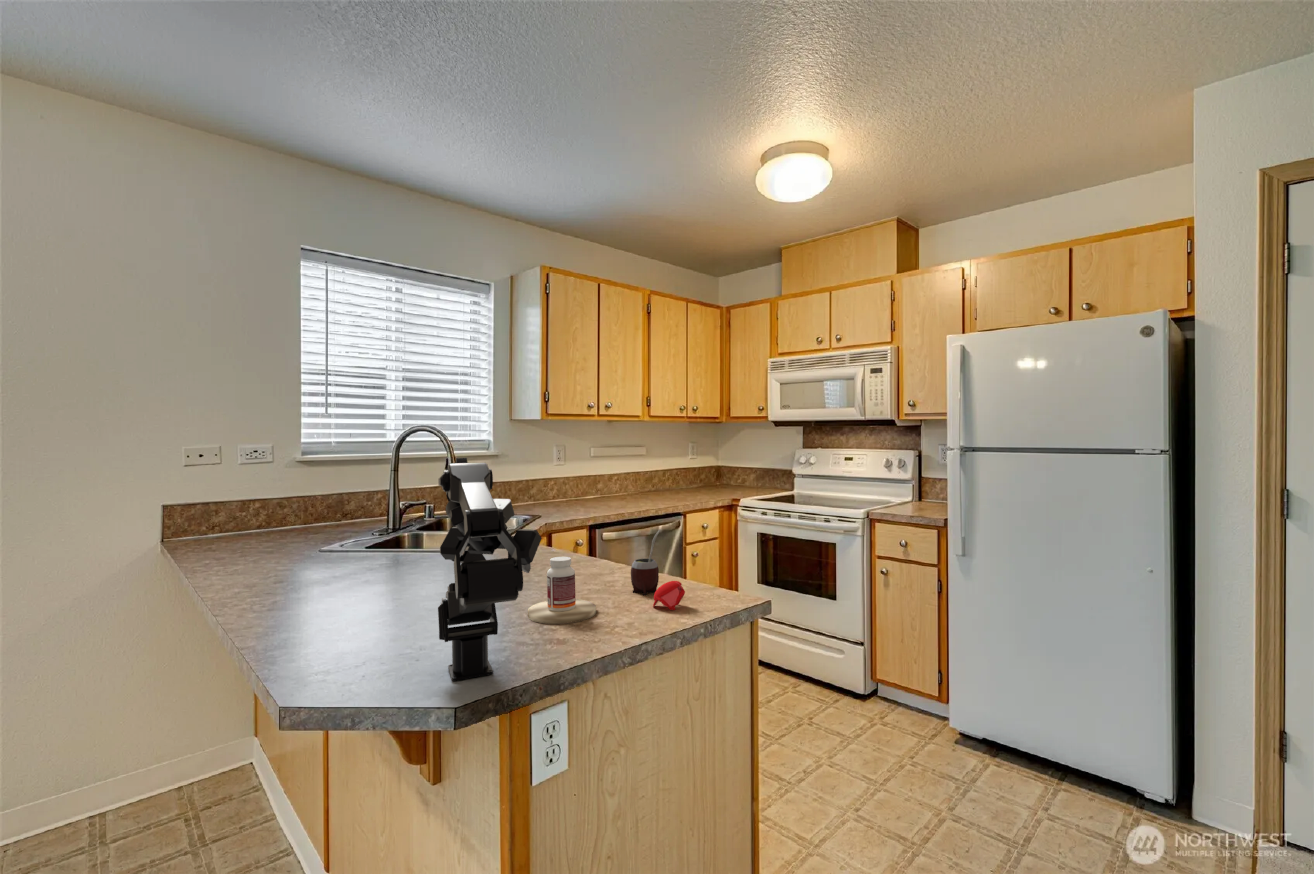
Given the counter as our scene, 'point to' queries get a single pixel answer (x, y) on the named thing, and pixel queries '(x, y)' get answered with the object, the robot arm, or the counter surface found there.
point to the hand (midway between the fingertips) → (508, 569)
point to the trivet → (562, 613)
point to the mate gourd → (645, 573)
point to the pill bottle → (561, 585)
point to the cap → (669, 594)
